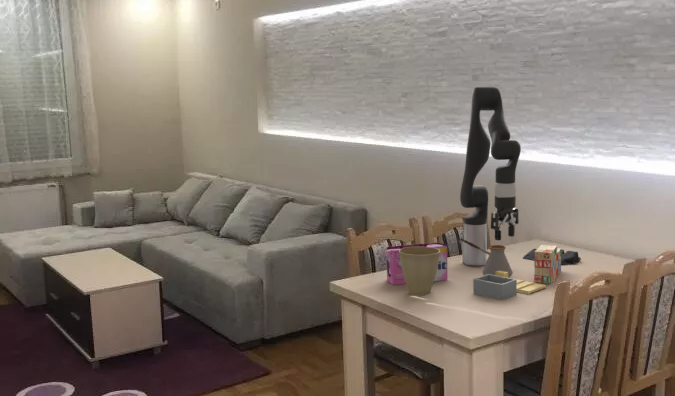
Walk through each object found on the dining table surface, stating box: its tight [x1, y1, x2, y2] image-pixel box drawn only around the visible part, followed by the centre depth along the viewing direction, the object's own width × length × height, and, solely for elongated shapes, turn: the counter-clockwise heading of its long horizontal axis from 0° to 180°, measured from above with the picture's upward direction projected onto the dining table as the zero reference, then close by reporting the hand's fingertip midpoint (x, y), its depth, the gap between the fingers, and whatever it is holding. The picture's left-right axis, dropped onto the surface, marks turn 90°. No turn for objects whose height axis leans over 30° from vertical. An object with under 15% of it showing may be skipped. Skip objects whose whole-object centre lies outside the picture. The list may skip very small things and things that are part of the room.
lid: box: [495, 271, 547, 295], centre depth 262 cm, size 17×11×5 cm, turn 43°
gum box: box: [385, 241, 448, 286], centre depth 278 cm, size 24×8×14 cm, turn 104°
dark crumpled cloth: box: [522, 248, 582, 266], centre depth 306 cm, size 15×22×5 cm
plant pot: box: [399, 246, 440, 296], centre depth 259 cm, size 15×15×16 cm
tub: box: [472, 274, 518, 301], centre depth 254 cm, size 12×9×6 cm
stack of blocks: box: [533, 244, 562, 284], centre depth 277 cm, size 21×6×12 cm, turn 153°
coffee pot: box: [458, 238, 514, 278], centre depth 278 cm, size 21×12×15 cm, turn 59°
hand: (504, 238), depth 264 cm, fingers open, 8 cm apart
